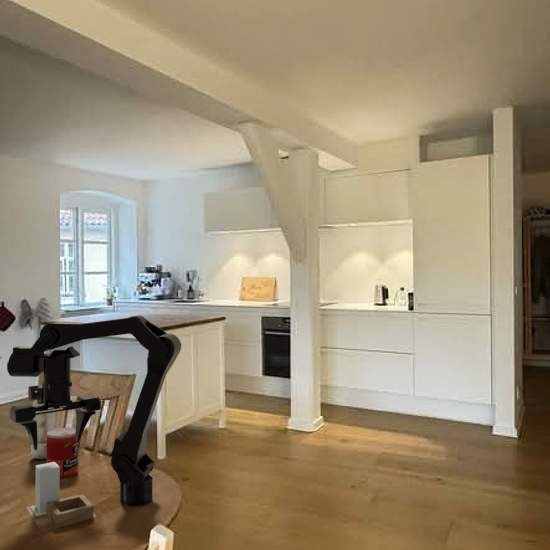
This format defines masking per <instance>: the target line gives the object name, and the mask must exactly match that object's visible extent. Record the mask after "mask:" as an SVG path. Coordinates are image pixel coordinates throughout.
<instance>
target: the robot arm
mask: <svg viewBox="0 0 550 550" xmlns="http://www.w3.org/2000/svg"><path fill="white" fill-rule="evenodd" d="M121 335H122V336H123V335H131V336H133V337H134V338H135V340H137V342H138V343H139V344H140V346H141V347H143V348H144V349H145V350H147V351H148V353H147V359H146V370H147V371H146V375H145V378H144V381H143V384H142V387H141V390H140V393H139V396H138V399H137V401H136V404H135V408H134V411H133V412H132V417H131V420H130V423H129V426H128V428H127V431H123V432H122V433H121V434H119V436H116V438H115V440H114V441H113V448H112V451H111V452H110V454H109V455H108V456H109V457H111V458H110V459H111V460H110V466H111V467H112V469H113V471H114V472H115V473H116V475H117V478H118V480H119V483H120V484H119V500H120V501H121V502H122V503H123V504H124V505H126V506H128V507H137V506H141V507H143V506H146V505H148V504H149V503H151V502H152V501H153V475H152V476H151V475H150V473H151V472H153V469H154V467H155V464H156V462H155V460H154V459H152V457H150V456H149V455H148V454H147V453H146V451H147V445H148V440H147V439H148V437H147V435H148V434H147V433H148V430H149V426H150V424H151V421H152V417H153V415H154V411H155V409H156V406H157V402H158V400H159V397H160V393H161V391H162V388H163V385H164V381H165V379H166V376H167V374H168V373H169V371H170V370H171V368H172V366H173V365H174V364H175V361H176V360H177V358H178V357H179V354H180V353H181V350H182V342H181V340H180V338H179V337H178V336H177V335H176V334H173V333H168V332H166V331H165V330H164V329H162V328H160V327H159V326H158V325H156V324H154V323H152V322H150V321H149V320H148V319H147V318H145V316H143V315H141V314H140V315H137V314H136V315H133V316H130V317H128V316H127V317H123V318H113V319H107V320H99V321H91V322H81V321H80V322H78V321H69V320H68V321H66V320H61V321H55V322H50V323H46V324H44V325H43V326H42V327H41V329H40V331H39V337H38V338H37V339H36V341H35V342H34V343H33V345H32V346H31V347H30V346H29V347H26V346H14V347H13V348H12V353H11V354H10V356H9V358H8V361H7V363H6V370H7V373H8V375H9V376H10V377H17V378H19V377H21V378H22V377H23V378H24V377H25V378H27V377H29V378H37V377H39V376H40V375H41V373H43V380H42V381H41V382H42V383H41V387H42V388H39V387H40V386H39V385H37V384H36V385H30V386H28V390H27V396H28V400H29V401H31V402H32V401H35V400H37V404H43V405H42V406H35V407H34V406H32V403H29V402H27V403H21V404H20V403H19V404H14V405H11V407H10V408H9V419H10V420H12V422H14V423H15V424H20V426H22V427H24V428H25V429H26V432H27V434H28V437H29V440H30V442H31V445H33V448H34V450H37V446H38V438H37V421H35V420H34V418H35V417H36V415H40V414H46V413H53V412H56V413H58V412H63V411H70V410H71V411H72V410H74V411H75V416H76V419H75V429H76V431H75V439H76V442H80V439H81V438H82V437H83V436H82V435H83V433H84V431H85V428H86V427H87V425H88V423H89V421H90V419H91V418H92V416H93V415H96V413H97V412H96V411H100V410H102V400H101V398H100V397H98V396H96V395H94V394H85V395H77V397H76V400H73V399H71V388H72V387H73V382H72V381H71V359H74V358H77V357H80V355H81V353H80V352H79V351H77V350H76V349H75V348H74V346H69V347H66V349H57V348H62V347H64V346H68V345H71V344H75V343H78V342H81V341H83V340H91V339H98V338H99V339H100V338H105V337H114V336H121ZM47 351H51V353H45V352H47ZM48 408H53V409H48Z"/></svg>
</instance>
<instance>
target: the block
mask: <svg viewBox="0 0 550 550" xmlns="http://www.w3.org/2000/svg"><path fill="white" fill-rule="evenodd" d="M60 479H61V478H60V467H59V466H58V465H57V464H56V463H55V462H51V463H42V464H36V465H35V484H34V485H35V497H34V499H35V500H34V501H35V504H34V505H35V507H36V508H37V510H38V511H39V513H43V512H47V503H48V502H53V501H57V500H60V499H61V498H60V496H61V494H60Z"/></svg>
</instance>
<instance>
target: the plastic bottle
mask: <svg viewBox="0 0 550 550" xmlns="http://www.w3.org/2000/svg"><path fill="white" fill-rule="evenodd" d="M38 387H39V388H42V386H38ZM31 405H32V406H34V407H35V406H42V405H43V404H37V400H33V403H31ZM48 409H53V408H48ZM56 414H57V412H53V413H46V414H40V415H36V417H35V418H34V420H35V421H37V438H38V446H37V450H34V448H33V445H32V444H31V445H30V454H31V456H32V458H33V459H36V460H43V459H44V460H45V459H46V439H47V432H48V431H50V430H53V429H55V419H56Z"/></svg>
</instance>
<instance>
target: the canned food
mask: <svg viewBox="0 0 550 550" xmlns="http://www.w3.org/2000/svg"><path fill="white" fill-rule="evenodd" d="M75 431H76V427H60V428H57V427H56V428H54V429H53V430H50V431H48V432H47V439H46V458H45V459H46V463H51V462H55V463H56V464H57V465H58V466H59V467H60V479H66V478H71V477H73V476H75V475H76V474H77V473H78V472H79V471H78V470H79V448H80V447H79V444H80V443H79V442H80V441H79V442H76V439H75ZM46 463H45V464H46Z"/></svg>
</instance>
